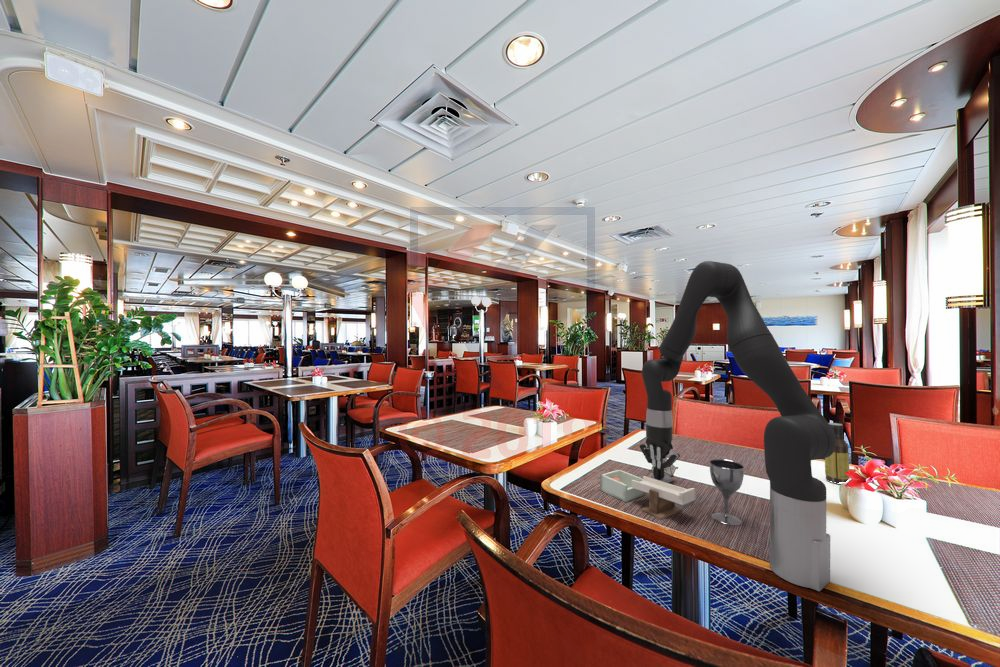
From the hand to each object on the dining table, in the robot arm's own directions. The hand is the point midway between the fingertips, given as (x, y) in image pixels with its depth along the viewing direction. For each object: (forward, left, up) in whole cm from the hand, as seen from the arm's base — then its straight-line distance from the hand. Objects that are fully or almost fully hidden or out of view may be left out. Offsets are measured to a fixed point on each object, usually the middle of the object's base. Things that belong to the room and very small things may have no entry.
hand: (658, 478), depth 114 cm
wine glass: (-18, -3, -6) cm, 20 cm away
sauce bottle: (-25, -62, -6) cm, 68 cm away
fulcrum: (-6, +8, -5) cm, 11 cm away
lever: (-6, +3, -2) cm, 7 cm away
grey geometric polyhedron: (+7, -12, -6) cm, 15 cm away
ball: (+10, +8, -3) cm, 13 cm away
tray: (+8, +8, -5) cm, 12 cm away
